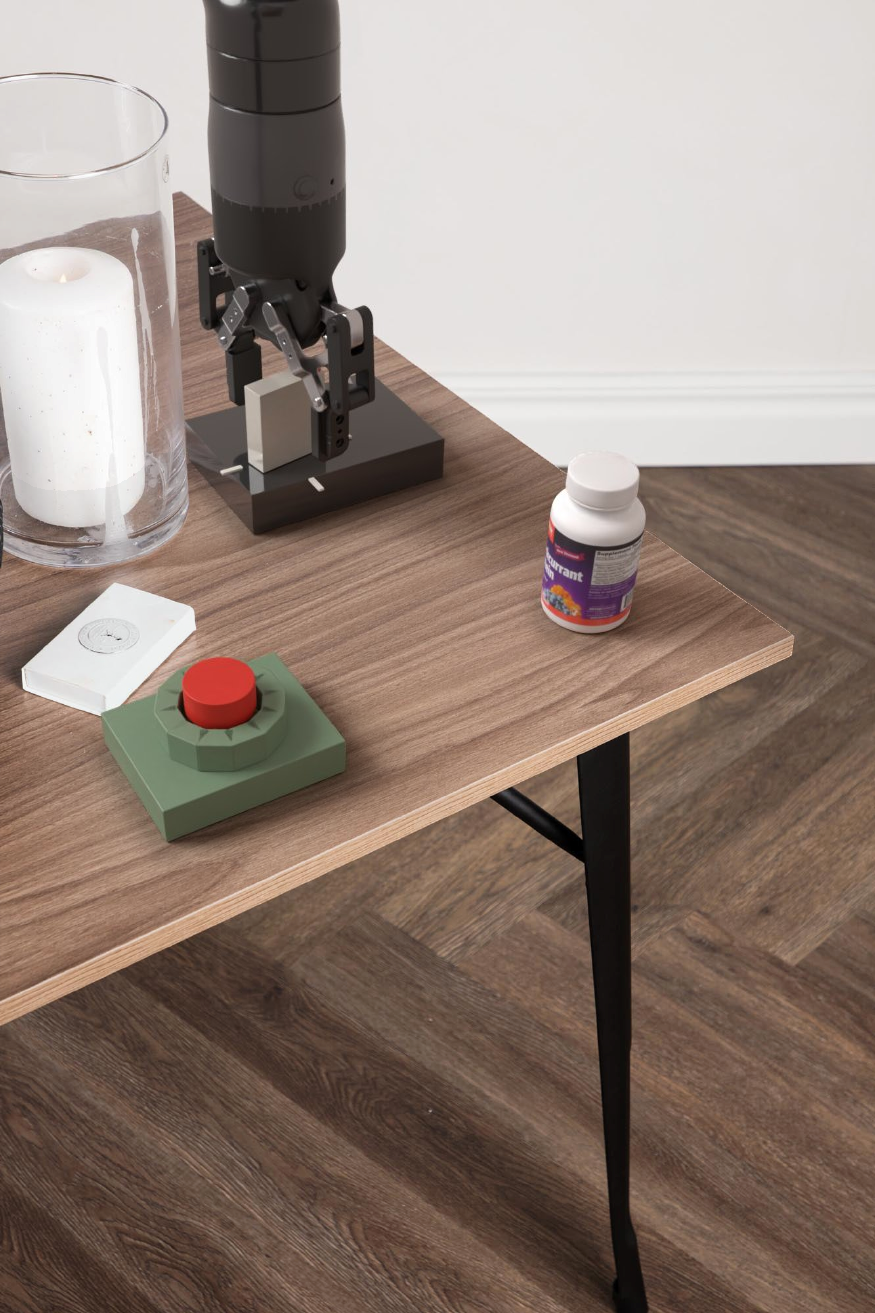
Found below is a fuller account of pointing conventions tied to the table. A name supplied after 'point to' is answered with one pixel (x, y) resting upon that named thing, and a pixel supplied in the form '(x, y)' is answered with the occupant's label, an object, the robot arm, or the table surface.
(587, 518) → the pill bottle
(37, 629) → the table surface
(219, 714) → the red button cap
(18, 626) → the table surface
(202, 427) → the panel
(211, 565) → the table surface
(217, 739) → the button housing
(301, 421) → the beige rectangular block
